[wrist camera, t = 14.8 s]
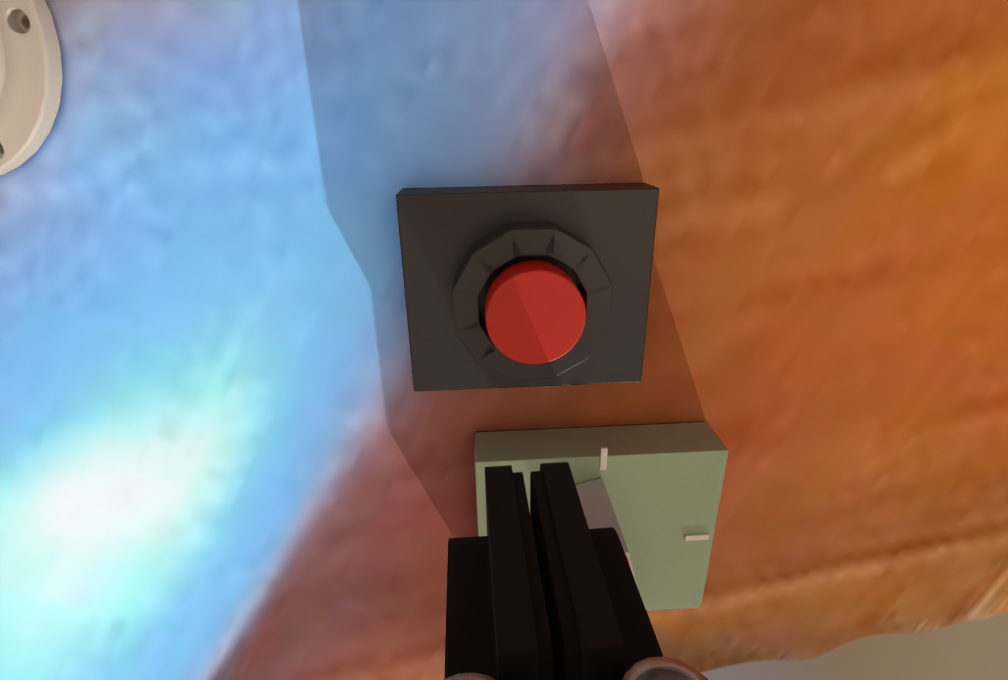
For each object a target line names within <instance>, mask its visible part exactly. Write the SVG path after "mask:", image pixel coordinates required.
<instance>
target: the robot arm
mask: <svg viewBox="0 0 1008 680" xmlns="http://www.w3.org/2000/svg"><path fill="white" fill-rule="evenodd" d="M29 21H30V22H29ZM62 81H63V76H62V63H61V50H60V45H59V41H58V37H57V33H56V30H55V26H54V22H53V18H52V15H51V12H50V10H49V8H48V5H47V3H46V1H45V0H0V176H1V175H3V174H5V173H7V172H9V171H11V170H13V169H15V168H17V167H19V166H20V165H22V164H23V163H24V162H25V161H26V160H27V159H28V158H30V157H31V156H32V155H33V154H34V153H35V152H37V150H38V149H39V148H40V146H41V145H42V143H43V142H44V140H45V139H46V137H47V136H48V134H49V133H50V131H51V129H52V126H53V123H54V120H55V118H56V115H57V112H58V109H59V106H60V98H61V89H62ZM485 493H486V519H487V536H477V537H463V538H449V541H448V571H447V608H446V645H445V679H443V680H708V679H707V678H706V677H705V676H704V675H702V674H701V673H700V672H699V671H698V670H696V669H695V668H694V667H692V666H690V665H688V664H686V663H684V662H682V661H680V660H677V659H672V658H668V657H663V655H662V652H661V649H660V646H659V644H658V641H657V638H656V636H655V633H654V630H653V628H652V625H651V622H650V620H649V617H648V614H647V611H646V609H645V606H644V603H643V601H642V598H641V595H640V593H639V590H638V587H637V585H636V582H635V579H634V576H633V574H632V571H631V568H630V566H629V563H628V560H627V558H626V555H625V552H624V550H623V547H622V544H621V541H620V539H619V536H618V534H617V532H616V530H615V529H614V528H613V527H609V528H594V529H589V527H588V524H587V521H586V518H585V514H584V511H583V508H582V505H581V501H580V498H579V495H578V492H577V488H576V485H575V482H574V479H573V475H572V472H571V469H570V466H569V463H568V462H557V463H541V464H540V471H531V473H530V511H529V505H528V500H527V494H526V488H525V482H524V476H523V472H514V473H513V471H512V466H511V465H507V466H491V467H485Z"/></svg>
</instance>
